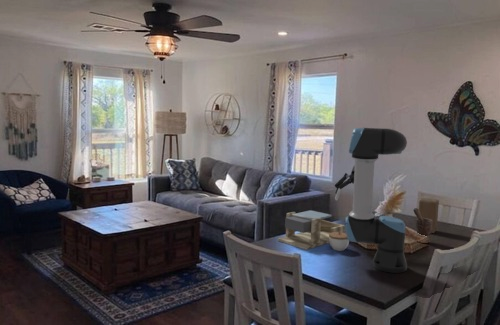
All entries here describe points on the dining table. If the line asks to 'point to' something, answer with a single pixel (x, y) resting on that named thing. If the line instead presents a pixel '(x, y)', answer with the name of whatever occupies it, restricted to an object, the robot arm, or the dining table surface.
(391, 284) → the dining table surface
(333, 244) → the lidded jar
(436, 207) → the block
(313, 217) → the grey flat box
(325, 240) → the stand
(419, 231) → the mortar and pestle
